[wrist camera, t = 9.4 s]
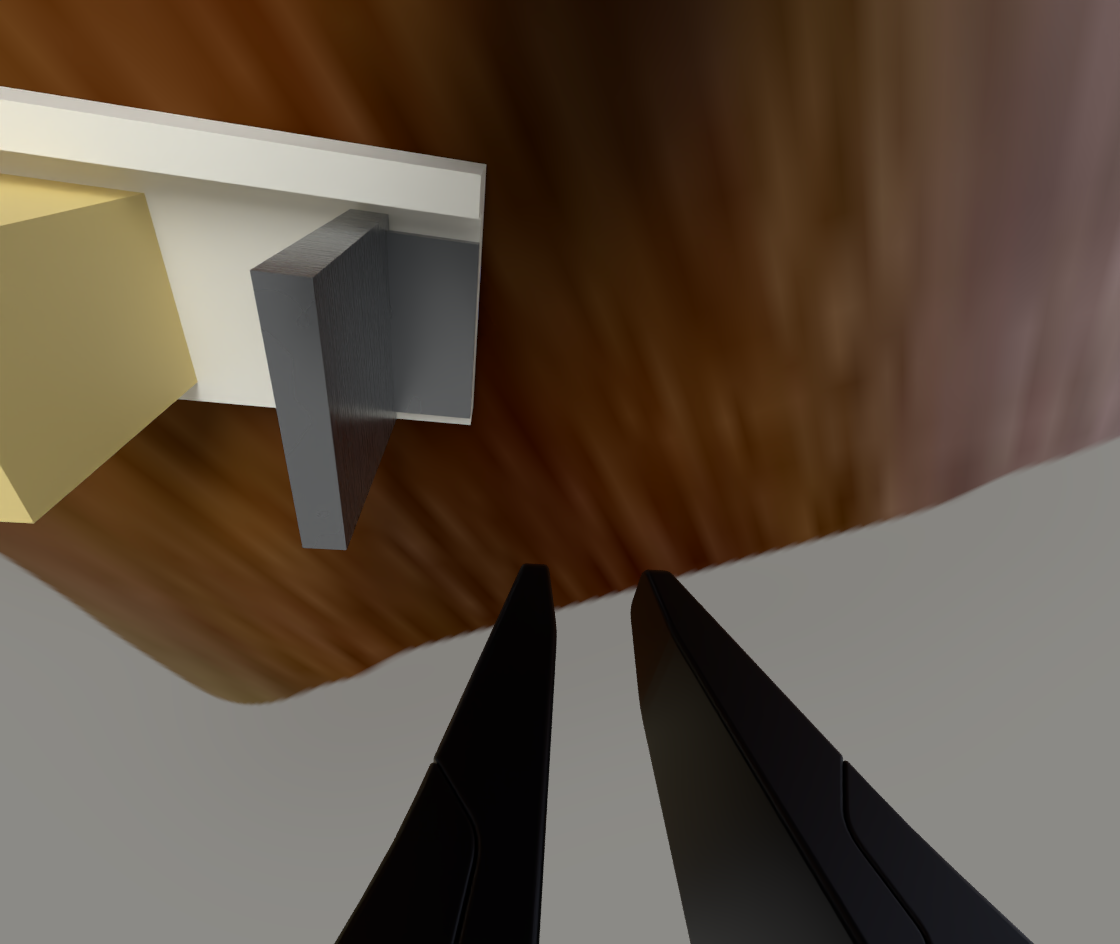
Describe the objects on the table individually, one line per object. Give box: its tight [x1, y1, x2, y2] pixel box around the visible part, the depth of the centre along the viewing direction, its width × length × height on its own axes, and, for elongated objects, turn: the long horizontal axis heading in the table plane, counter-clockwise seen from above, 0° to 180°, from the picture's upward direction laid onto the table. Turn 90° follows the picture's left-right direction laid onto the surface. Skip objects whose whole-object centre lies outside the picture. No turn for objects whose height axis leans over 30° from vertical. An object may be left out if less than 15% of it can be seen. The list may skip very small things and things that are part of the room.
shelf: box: [0, 86, 486, 425], centre depth 13 cm, size 20×8×7 cm, turn 82°
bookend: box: [250, 209, 480, 550], centre depth 13 cm, size 4×6×6 cm, turn 172°
